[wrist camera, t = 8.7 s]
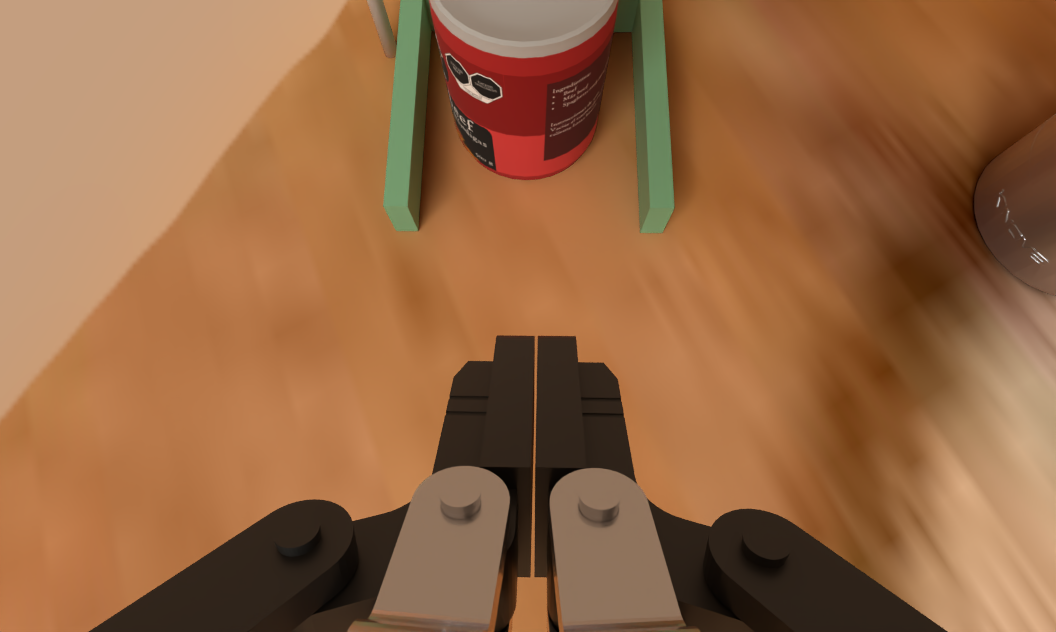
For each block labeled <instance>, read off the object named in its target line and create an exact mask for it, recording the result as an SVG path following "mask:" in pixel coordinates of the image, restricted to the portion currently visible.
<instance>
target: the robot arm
mask: <svg viewBox="0 0 1056 632" xmlns="http://www.w3.org/2000/svg"><path fill="white" fill-rule="evenodd" d="M974 212H975V217H976V221H977V225H978V229H979V231H980V233H981V235H982V237H983V239H984V241H985V243H986V245H987V247H988V248H989V249H990V251H991V252H992V253H993V255H994V256H995V257H996V259H997V260H998V261H999V262H1000V263H1001V264H1002V265H1003V266H1004V267H1005V268H1006V269H1007V270H1008V271H1009V272H1011V273H1012V274H1013V275H1014V276H1016V277H1017V278H1019V279H1020V280H1022V281H1023V282H1025V283H1026V284H1028V285H1030V286H1032V287H1034V288H1036V289H1038V290H1041V291H1043V292H1045V293H1047V294H1051V295H1055V296H1056V114H1055V115H1053V116H1052V117H1051V118H1049V119H1048V120H1046V121H1045V122H1044V123H1042V124H1041V125H1040V126H1038V127H1037V128H1035V129H1034V130H1033V131H1031V132H1030V133H1029V134H1027V135H1026V136H1024V137H1023V138H1022V139H1020V140H1019V141H1017V142H1016V143H1015V144H1013V145H1012V146H1011V147H1009V148H1008V149H1006V150H1005V151H1004V152H1002V153H1001V154H1000V155H998V156H997V157H995V158H994V159H993V160H992V162H991V163H990V164H989V165H988V166H987V167H986V168H985V169H984V171H983V173H982V175H981V176H980V178H979V180H978V183H977V187H976V191H975V195H974ZM534 354H535V337H534V336H497V337H496V344H495V351H494V359H493V361H468V362H467V363H466V364H465V365H464V367H463V368H462V369H461V370H460V371H459V372H458V373H457V374H456V375H455V376H454V378H453V383H452V387H451V392H450V399H449V401H448V405H447V410H446V415H445V419H444V423H443V428H442V432H441V437H440V441H439V446H438V450H437V455H436V459H435V464H434V468H433V473H432V475H431V476H429V477H428V478H427V479H425V480H424V481H423V482H422V483H421V484H420V485H419V487H418V488H417V489H416V491H415V493H414V495H413V497H412V500H411V502H409V503H408V504H406V505H404V506H402V507H400V508H398V509H396V510H393V511H391V512H387V513H384V514H380V515H376V516H372V517H368V518H364V519H360V520H356V521H352V519H351V517H350V515H349V514H348V512H347V511H346V510H345V509H344V508H342V507H341V506H339V505H338V504H335V503H333V502H330V501H325V500H315V499H314V500H304V501H298V502H295V503H291V504H288V505H286V506H283V507H281V508H279V509H277V510H275V511H274V512H272V513H270V514H269V515H267V516H266V517H264V518H263V519H261V520H260V521H258V522H256V523H255V524H253V525H252V526H250V527H249V528H247V529H246V530H244V531H243V532H241V533H240V534H238V535H236V536H235V537H233V538H232V539H230V540H229V541H227V542H226V543H224V544H223V545H221V546H220V547H218V548H217V549H215V550H213V551H212V552H210V553H209V554H207V555H206V556H204V557H203V558H201V559H200V560H198V561H197V562H195V563H193V564H192V565H190V566H189V567H187V568H186V569H184V570H183V571H181V572H180V573H178V574H177V575H175V576H174V577H172V578H170V579H169V580H167V581H166V582H164V583H163V584H161V585H160V586H158V587H157V588H155V589H154V590H152V591H150V592H149V593H147V594H146V595H144V596H143V597H141V598H140V599H138V600H137V601H135V602H134V603H132V604H131V605H129V606H127V607H126V608H124V609H123V610H121V611H120V612H118V613H117V614H115V615H114V616H112V617H111V618H109V619H108V620H106V621H104V622H103V623H101V624H100V625H98V626H97V627H95V628H94V629H92V630H91V631H89V632H512V616H513V614H514V611H515V607H516V596H517V577H530V572H531V530H532V488H533V445H534ZM535 577H547V632H947V631H946V630H944V629H943V628H942V627H940V626H939V625H937V624H936V623H934V622H933V621H932V620H930V619H929V618H927V617H926V616H924V615H923V614H922V613H920V612H919V611H917V610H916V609H914V608H913V607H912V606H910V605H909V604H907V603H906V602H905V601H903V600H902V599H900V598H899V597H897V596H896V595H895V594H893V593H892V592H890V591H889V590H887V589H886V588H885V587H883V586H882V585H880V584H879V583H877V582H876V581H875V580H873V579H872V578H870V577H869V576H867V575H866V574H865V573H863V572H862V571H860V570H859V569H857V568H856V567H855V566H853V565H852V564H850V563H849V562H848V561H846V560H845V559H843V558H842V557H840V556H839V555H838V554H836V553H835V552H833V551H832V550H830V549H829V548H828V547H826V546H825V545H823V544H822V543H820V542H819V541H818V540H816V539H815V538H813V537H812V536H810V535H809V534H808V533H806V532H805V531H803V530H802V529H801V528H799V527H798V526H796V525H795V524H793V523H792V522H790V521H788V520H787V519H785V518H783V517H780V516H778V515H776V514H773V513H770V512H766V511H762V510H756V509H739V510H734V511H731V512H728V513H726V514H724V515H722V516H720V517H719V518H718V519H717V520H716V521H715V522H714V524H713V525H712V527H710V526H706V525H703V524H699V523H696V522H692V521H688V520H685V519H682V518H679V517H676V516H673V515H671V514H669V513H667V512H665V511H663V510H661V509H660V508H658V507H657V506H655V505H654V504H653V503H652V502H650V501H649V500H648V499H647V498H646V495H645V494H644V492H643V491H642V489H641V488H640V487H639V486H638V485H637V482H636V479H635V475H634V469H633V464H632V458H631V452H630V447H629V441H628V435H627V430H626V424H625V418H624V413H623V407H622V402H621V396H620V390H619V384H618V379H617V378H616V377H615V376H614V374H613V373H612V372H611V371H610V370H609V369H608V367H607V366H606V365H605V364H604V363H585V362H578V357H577V345H576V337H575V336H538V357H537V411H536V464H535Z"/></svg>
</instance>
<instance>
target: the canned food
mask: <svg viewBox="0 0 1056 632" xmlns="http://www.w3.org/2000/svg"><path fill="white" fill-rule="evenodd" d="M618 1H619V0H429V4H430V10H431V16H432V20H433V25H434V30H435V34H436V39H437V43H438V48H439V53H440V57H441V62H442V66H443V71H444V75H445V80H446V85H447V89H448V94H449V98H450V103H451V108H452V112H453V117H454V121H455V126H456V129H457V132H458V135H459V138H460V140H461V141H462V143H463V145H464V147H465V148H466V149H467V150H468V151H469V153H470V154H471V155H472V156H473V157H474V158H475V159H476V160H477V161H478V162H479V163H480V164H481V165H483V166H484V167H485V168H487V169H488V170H490V171H492V172H494V173H496V174H498V175H501V176H505V177H508V178H512V179H520V180H534V179H541V178H546V177H550V176H553V175H555V174H557V173H559V172H562V171H563V170H565V169H566V168H568V167H569V166H571V165H572V164H573V163H574V162H575V161H576V160H577V159H578V158H579V157H580V156H581V155H582V154H583V153H584V152H585V150H586V149H587V147H588V146H589V144H590V142H591V141H592V139H593V136H594V133H595V130H596V126H597V120H598V115H599V109H600V104H601V98H602V93H603V87H604V82H605V76H606V71H607V65H608V60H609V54H610V49H611V43H612V38H613V32H614V27H615V22H616V16H617V7H618Z"/></svg>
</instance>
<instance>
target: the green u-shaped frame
mask: <svg viewBox="0 0 1056 632" xmlns="http://www.w3.org/2000/svg"><path fill="white" fill-rule="evenodd" d="M367 2H368V5H369V8H370V11H371V14H372V17H373V20H374V23H375V26H376V29H377V32H378V35H379V38H380V41H381V44H382V47H383V50H384V53H385V55H386V56H387V57H389V58H393V57H395V56H396V61H395V73H394V84H393V96H392V108H391V120H390V132H389V144H388V156H387V168H386V180H385V192H384V204H383V207H384V208H385V210H386V212H387V214H388V216H389V218H390V220H391V222H392V224H393V226H394V228H395V230H396V231H418V228H419V213H420V198H421V182H422V167H423V152H424V137H425V122H426V106H427V91H428V76H429V61H430V46H431V31H435V30H434V25H433V20H432V16H431V10H430V4H429V0H401V1H400V13H399V25H398V37H397V46H396V42H395V39H394V36H393V33H392V29H391V26H390V23H389V19H388V16H387V13H386V10H385V6H384V3H383V0H367ZM614 32H632V53H633V77H634V101H635V125H636V149H637V173H638V197H639V221H640V233H663V231H664V229H665V227H666V224H667V222H668V220H669V218H670V216H671V214H672V212H673V210H674V208H675V207H674V190H673V173H672V156H671V139H670V122H669V105H668V89H667V72H666V55H665V38H664V21H663V4H662V0H619V1H618V7H617V16H616V22H615V27H614Z"/></svg>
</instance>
